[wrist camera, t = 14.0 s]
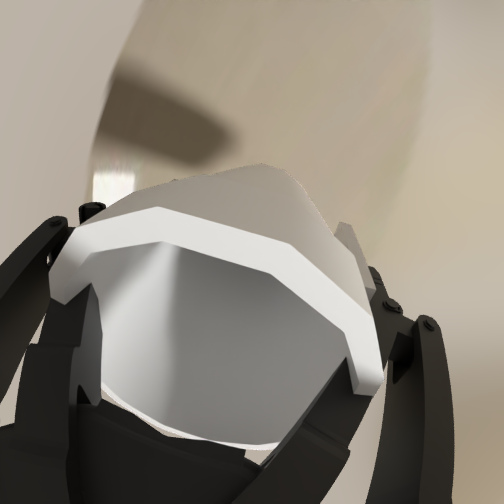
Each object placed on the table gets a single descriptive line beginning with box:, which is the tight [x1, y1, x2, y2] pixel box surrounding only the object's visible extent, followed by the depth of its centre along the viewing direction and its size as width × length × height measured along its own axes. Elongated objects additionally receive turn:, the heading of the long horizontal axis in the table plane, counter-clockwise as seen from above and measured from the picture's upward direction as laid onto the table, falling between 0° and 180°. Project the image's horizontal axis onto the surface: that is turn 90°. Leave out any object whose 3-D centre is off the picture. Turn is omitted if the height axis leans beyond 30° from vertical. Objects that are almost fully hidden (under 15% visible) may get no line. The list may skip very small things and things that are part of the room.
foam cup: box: [49, 163, 384, 450], centre depth 12 cm, size 10×9×13 cm
